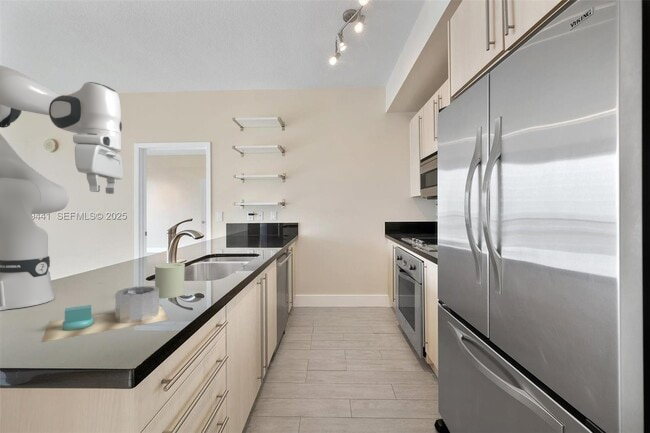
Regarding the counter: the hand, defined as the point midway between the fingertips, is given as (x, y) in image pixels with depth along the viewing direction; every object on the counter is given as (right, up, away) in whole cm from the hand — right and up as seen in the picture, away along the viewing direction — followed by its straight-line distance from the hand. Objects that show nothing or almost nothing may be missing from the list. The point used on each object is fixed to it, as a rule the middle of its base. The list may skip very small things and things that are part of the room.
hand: (102, 192), depth 86 cm
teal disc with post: (+1, -34, -10) cm, 35 cm away
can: (+9, -35, +18) cm, 41 cm away
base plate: (+7, -35, -6) cm, 36 cm away
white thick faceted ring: (+12, -34, -3) cm, 36 cm away
